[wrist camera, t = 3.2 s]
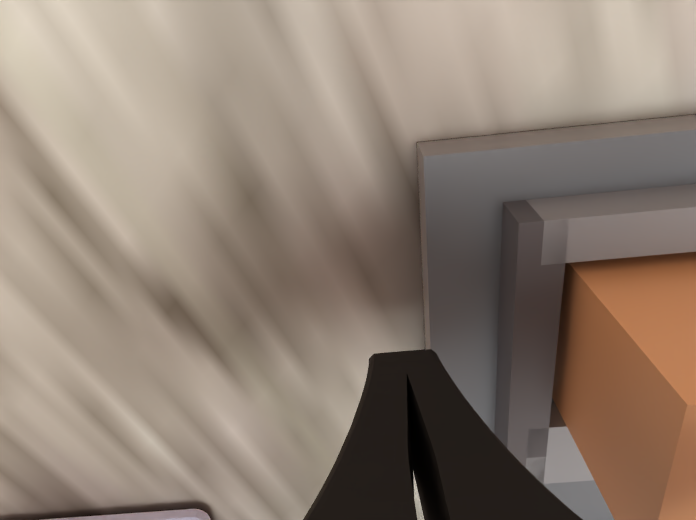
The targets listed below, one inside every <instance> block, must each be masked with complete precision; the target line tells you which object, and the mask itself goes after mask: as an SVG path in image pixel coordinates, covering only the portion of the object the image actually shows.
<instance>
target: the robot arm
mask: <svg viewBox="0 0 696 520" xmlns="http://www.w3.org/2000/svg"><path fill="white" fill-rule="evenodd" d="M413 471H414V475H415V480H416V484H417V488H418V493H419V497H420V501H421V506H422V510H423V515H424V519H425V520H583V519H582V518H580V517H579V516H578V515H577V514H575V513H574V512H573V511H572V510H571V509H569V508H568V507H567V506H566V505H565V504H564V503H563V502H562V501H560V500H559V499H558V498H557V497H556V496H555V495H554V494H553V493H552V492H551V491H549V490H548V489H547V488H546V487H545V486H544V485H543V484H542V483H541V482H540V481H539V480H538V479H537V478H536V477H535V476H534V475H533V474H531V473H530V472H529V471H528V470H527V469H526V468H525V467H524V466H523V465H522V464H521V463H520V462H519V460H518V459H517V458H516V457H515V456H514V455H513V454H512V453H511V452H510V451H509V450H508V449H507V448H506V447H505V445H504V444H503V443H502V442H501V441H500V440H499V439H498V438H497V436H496V435H495V434H494V433H493V432H492V431H491V430H490V428H489V427H488V426H487V425H486V424H485V422H484V421H483V420H482V419H481V418H480V416H479V415H478V414H477V412H476V411H475V410H474V409H473V407H472V406H471V405H470V404H469V402H468V401H467V400H466V398H465V397H464V396H463V394H462V393H461V392H460V390H459V389H458V387H457V386H456V384H455V383H454V381H453V380H452V379H451V377H450V376H449V374H448V372H447V371H446V369H445V368H444V366H443V364H442V363H441V361H440V359H439V357H438V355H437V353H436V352H434V351H433V350H432V349H425V350H413V351H401V352H390V353H378V354H373V355H372V356H371V357H370V358H369V368H368V373H367V378H366V382H365V386H364V390H363V393H362V397H361V400H360V403H359V405H358V408H357V411H356V414H355V417H354V420H353V422H352V425H351V428H350V430H349V432H348V435H347V437H346V439H345V441H344V444H343V446H342V448H341V451H340V453H339V455H338V457H337V459H336V462H335V464H334V466H333V468H332V470H331V472H330V474H329V476H328V477H327V479H326V481H325V483H324V485H323V487H322V489H321V490H320V492H319V494H318V496H317V498H316V499H315V501H314V503H313V504H312V506H311V508H310V509H309V511H308V513H307V514H306V516H305V517H304V519H303V520H417V515H416V509H415V502H414V484H413ZM41 520H211V519H210V517H209V515H208V514H207V513H206V512H204V511H202V510H199V509H182V510H168V511H154V512H140V513H126V514H111V515H97V516H83V517H69V518H55V519H41Z"/></svg>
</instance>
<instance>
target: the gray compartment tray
mask: <svg viewBox="0 0 696 520" xmlns="http://www.w3.org/2000/svg"><path fill="white" fill-rule="evenodd" d="M417 159H418V183H419V207H420V232H421V256H422V280H423V304H424V328H425V349H432V350H433V351H434V352H436V353H437V355H438V357H439V359H440V361H441V363H442V364H443V366H444V368H445V369H446V371H447V372H448V374H449V376H450V377H451V379H452V380H453V381H454V383H455V384H456V386H457V387H458V389H459V390H460V392H461V393H462V394H463V396H464V397H465V398H466V400H467V401H468V402H469V404H470V405H471V406H472V407H473V409H474V410H475V411H476V412H477V414H478V415H479V416H480V418H481V419H482V420H483V421H484V422H485V424H486V425H487V426H488V427H489V428H490V430H491V431H492V432H493V433H494V434H495V435H496V436H497V438H498V439H499V440H500V441H501V442H502V443H503V444H504V445H505V447H506V448H507V449H508V450H509V451H510V452H511V453H512V454H513V455H514V456H515V457H516V458H517V459H518V460H519V462H520V463H521V464H522V465H523V466H524V467H525V468H526V469H527V470H528V471H529V472H530V473H531V474H533V475H534V476H535V477H536V478H537V479H538V480H539V481H540V482H541V483H542V484H543V485H544V486H545V487H546V488H547V489H548V490H549V491H551V492H552V493H553V494H554V495H555V496H556V497H557V498H558V499H559V500H560V501H562V502H563V503H564V504H565V505H566V506H567V507H568V508H569V509H571V510H572V511H573V512H574V513H575V514H577V515H578V516H579V517H580V518H582V519H583V520H614V518H613V516H612V514H611V512H610V510H609V508H608V506H607V504H606V502H605V500H604V498H603V496H602V494H601V492H600V490H599V488H598V486H597V484H596V482H595V480H594V479H593V477H592V475H591V473H590V471H589V469H588V467H587V465H586V463H585V461H584V459H583V457H582V455H581V453H580V451H579V449H578V447H577V445H576V443H575V441H574V439H573V438H572V436H571V434H570V432H569V430H568V428H567V426H566V424H565V422H564V420H563V418H562V416H561V414H560V412H559V410H558V408H557V406H556V404H555V402H554V400H553V398H552V393H553V382H554V372H555V362H556V352H557V342H558V332H559V322H560V312H561V302H562V291H563V281H564V271H565V263H572V262H583V261H595V260H606V259H617V258H628V257H640V256H651V255H662V254H673V253H684V252H696V114H695V115H685V116H675V117H665V118H655V119H645V120H635V121H625V122H615V123H605V124H595V125H585V126H575V127H565V128H555V129H545V130H535V131H525V132H515V133H505V134H495V135H485V136H475V137H466V138H456V139H446V140H436V141H426V142H417Z"/></svg>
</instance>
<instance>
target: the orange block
mask: <svg viewBox="0 0 696 520" xmlns="http://www.w3.org/2000/svg"><path fill="white" fill-rule="evenodd" d="M552 398H553V400H554V402H555V404H556V406H557V408H558V410H559V412H560V414H561V416H562V418H563V420H564V422H565V424H566V426H567V428H568V430H569V432H570V434H571V436H572V438H573V439H574V441H575V443H576V445H577V447H578V449H579V451H580V453H581V455H582V457H583V459H584V461H585V463H586V465H587V467H588V469H589V471H590V473H591V475H592V477H593V479H594V480H595V482H596V484H597V486H598V488H599V490H600V492H601V494H602V496H603V498H604V500H605V502H606V504H607V506H608V508H609V510H610V512H611V514H612V516H613V518H614V520H696V252H684V253H673V254H662V255H651V256H640V257H628V258H617V259H606V260H595V261H583V262H572V263H565V271H564V281H563V291H562V302H561V312H560V322H559V332H558V342H557V352H556V362H555V372H554V382H553V393H552Z"/></svg>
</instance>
